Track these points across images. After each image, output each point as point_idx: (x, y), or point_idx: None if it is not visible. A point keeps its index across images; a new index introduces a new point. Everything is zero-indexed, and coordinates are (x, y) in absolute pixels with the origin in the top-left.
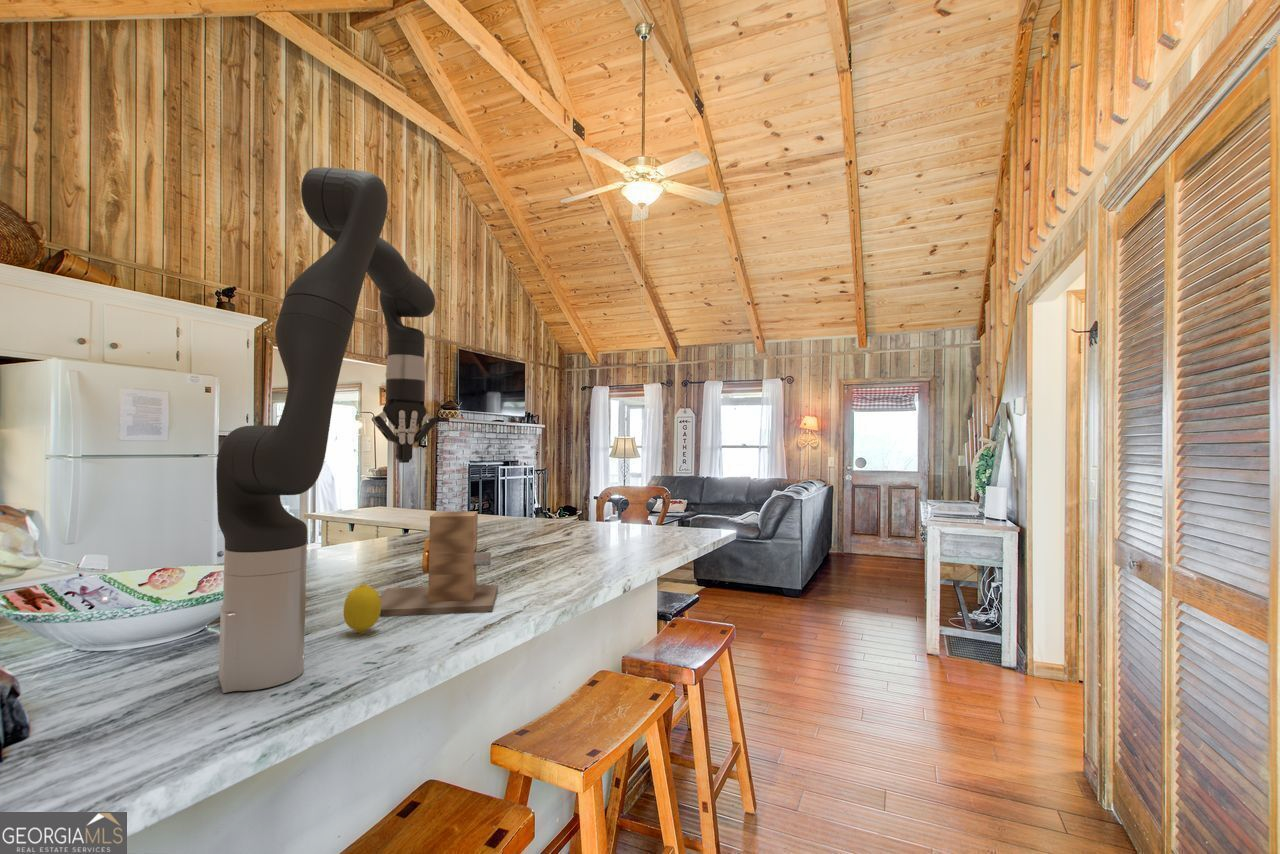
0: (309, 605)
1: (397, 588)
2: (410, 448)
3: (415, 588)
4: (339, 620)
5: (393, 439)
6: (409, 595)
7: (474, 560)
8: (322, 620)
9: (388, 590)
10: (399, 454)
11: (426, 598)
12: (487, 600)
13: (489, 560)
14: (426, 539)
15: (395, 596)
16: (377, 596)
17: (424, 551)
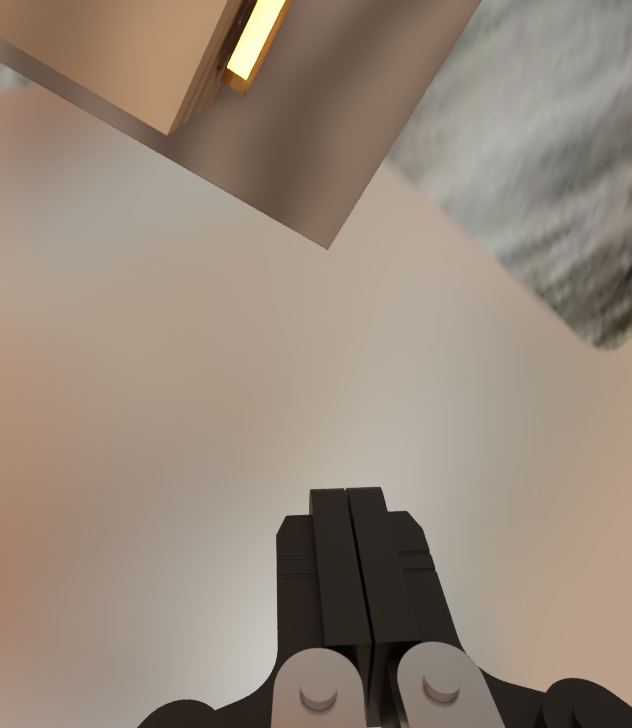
0: (530, 252)
1: (304, 228)
2: (301, 616)
3: (257, 190)
4: (543, 16)
5: (576, 699)
6: (304, 103)
7: None
8: (574, 54)
9: (335, 218)
10: (416, 553)
11: None
12: None
13: None
14: (272, 13)
15: (345, 122)
16: None
17: (284, 5)
